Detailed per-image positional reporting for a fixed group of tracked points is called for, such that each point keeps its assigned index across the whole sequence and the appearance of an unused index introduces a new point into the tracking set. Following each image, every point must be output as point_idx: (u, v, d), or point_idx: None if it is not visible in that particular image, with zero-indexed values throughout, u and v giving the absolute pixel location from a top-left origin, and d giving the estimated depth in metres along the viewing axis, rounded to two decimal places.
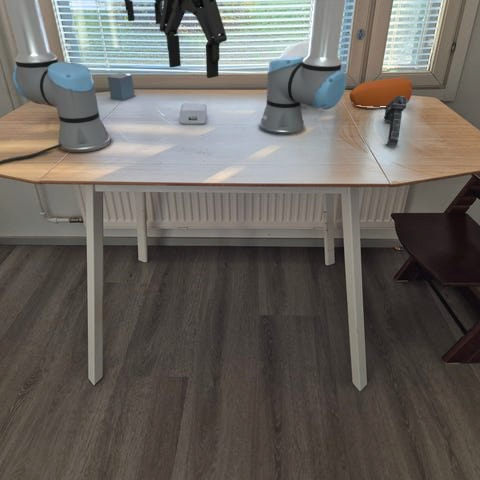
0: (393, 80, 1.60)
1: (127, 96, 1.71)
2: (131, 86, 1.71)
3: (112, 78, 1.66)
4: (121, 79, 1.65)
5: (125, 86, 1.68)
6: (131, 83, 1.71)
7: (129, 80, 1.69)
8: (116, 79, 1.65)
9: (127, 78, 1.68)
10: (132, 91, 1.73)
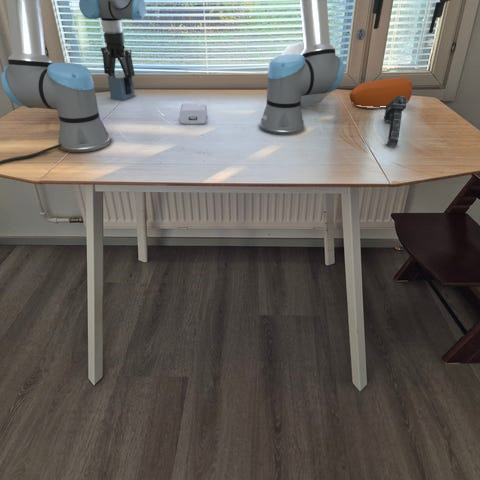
0: (393, 80, 1.60)
1: (127, 96, 1.71)
2: (131, 86, 1.71)
3: (112, 78, 1.66)
4: (121, 79, 1.65)
5: None
6: None
7: None
8: (116, 79, 1.65)
9: None
10: (132, 91, 1.73)
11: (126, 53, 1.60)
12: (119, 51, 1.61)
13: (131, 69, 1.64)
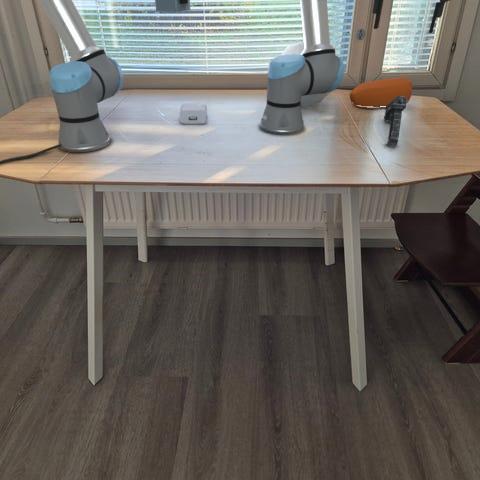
0: (393, 80, 1.60)
1: (181, 6, 1.10)
2: None
3: None
4: None
5: None
6: None
7: None
8: None
9: None
10: (188, 1, 1.13)
11: None
12: None
13: None
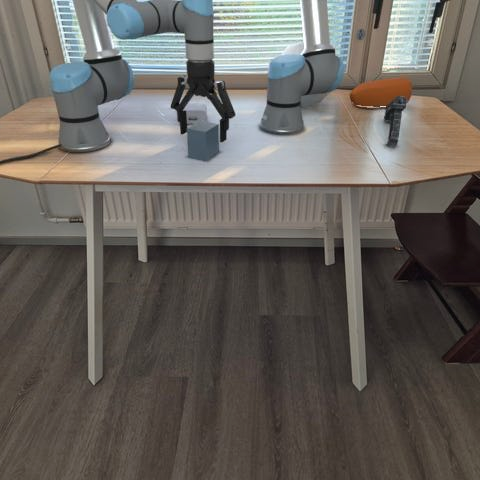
0: (393, 80, 1.60)
1: (211, 153, 1.21)
2: (216, 140, 1.22)
3: (194, 131, 1.16)
4: (207, 133, 1.16)
5: (210, 141, 1.19)
6: (216, 136, 1.21)
7: (215, 132, 1.20)
8: (200, 133, 1.16)
9: (213, 130, 1.19)
10: (217, 146, 1.23)
11: (219, 86, 1.08)
12: (207, 87, 1.10)
13: (230, 107, 1.11)
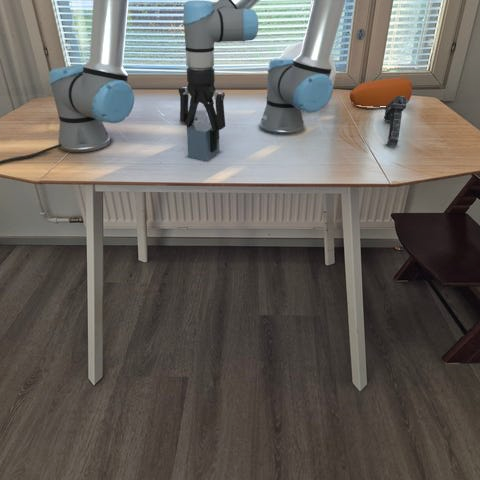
0: (393, 80, 1.60)
1: (211, 153, 1.21)
2: None
3: (194, 131, 1.16)
4: (207, 133, 1.16)
5: None
6: None
7: None
8: (200, 133, 1.16)
9: None
10: (217, 146, 1.23)
11: None
12: None
13: None
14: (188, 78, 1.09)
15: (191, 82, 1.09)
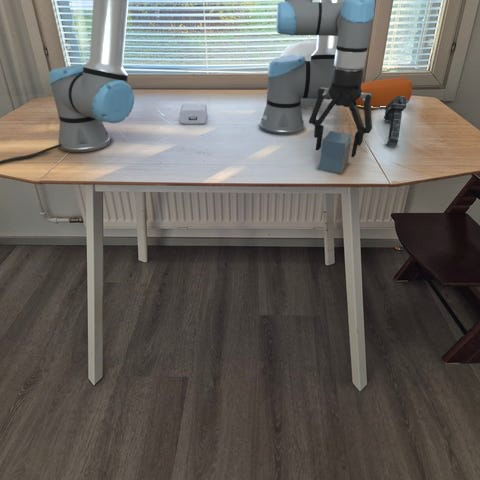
0: (393, 80, 1.60)
1: (343, 166, 1.15)
2: (348, 151, 1.16)
3: (331, 142, 1.10)
4: (346, 144, 1.10)
5: (345, 152, 1.13)
6: (349, 147, 1.15)
7: (349, 143, 1.14)
8: (338, 144, 1.10)
9: (348, 142, 1.13)
10: (347, 158, 1.17)
11: None
12: None
13: None
14: (336, 80, 1.02)
15: (339, 84, 1.02)
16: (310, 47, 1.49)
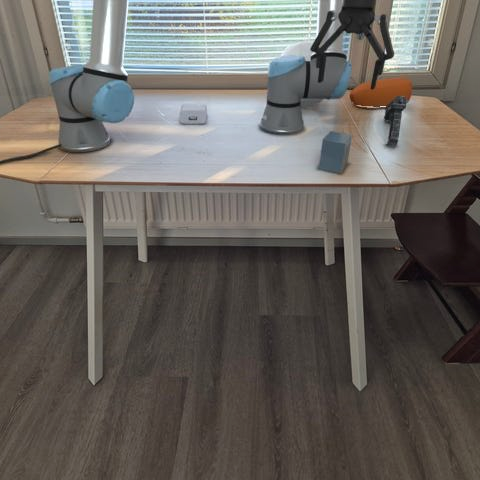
0: (393, 80, 1.60)
1: (343, 166, 1.15)
2: (348, 151, 1.16)
3: (331, 142, 1.10)
4: (346, 144, 1.10)
5: (345, 152, 1.13)
6: (349, 147, 1.15)
7: (349, 143, 1.14)
8: (338, 144, 1.10)
9: (348, 142, 1.13)
10: (347, 158, 1.17)
11: None
12: None
13: None
14: (347, 1, 0.92)
15: (351, 5, 0.92)
16: (310, 47, 1.49)
